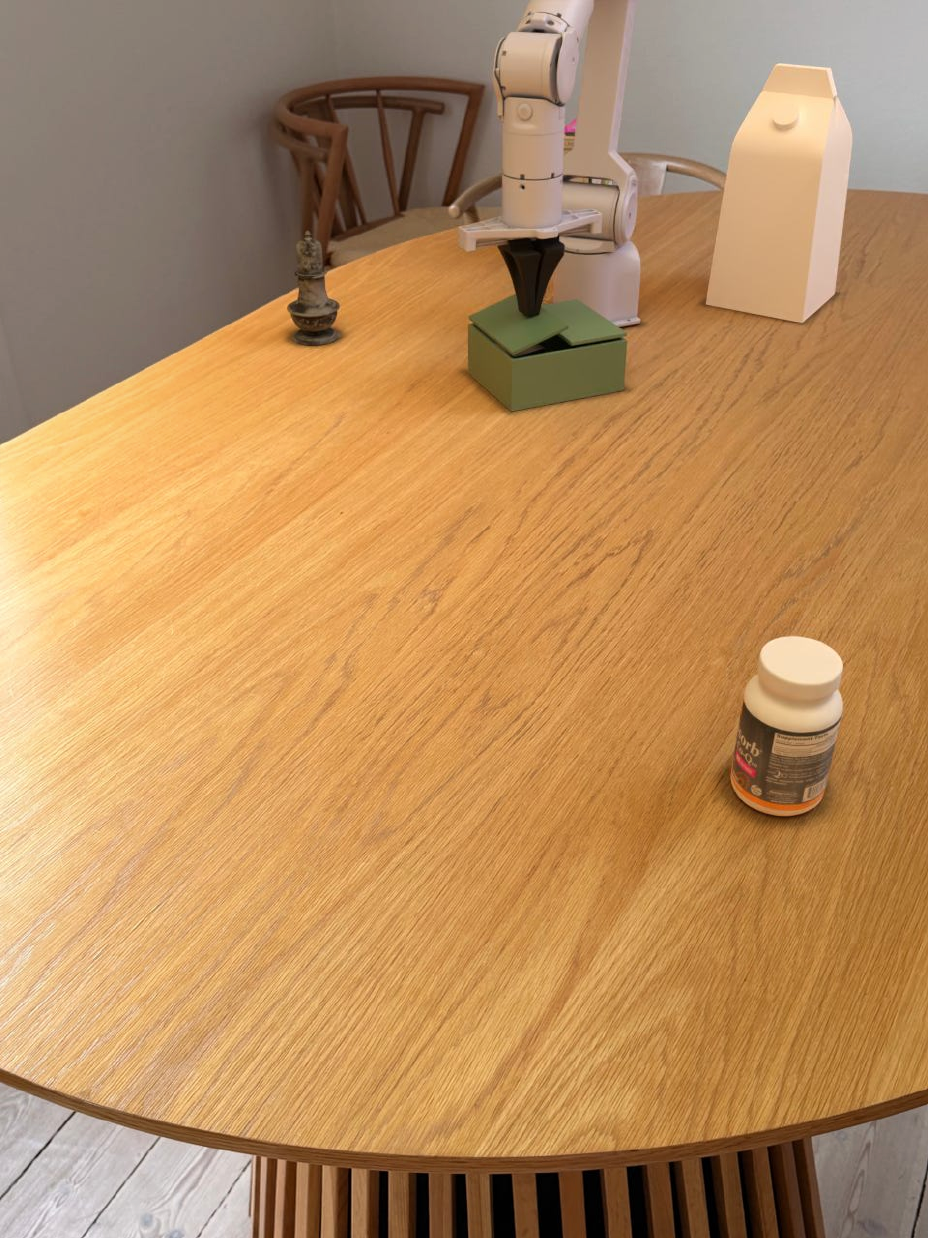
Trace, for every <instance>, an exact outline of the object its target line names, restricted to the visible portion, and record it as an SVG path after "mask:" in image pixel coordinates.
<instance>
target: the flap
mask: <svg viewBox="0 0 928 1238" xmlns="http://www.w3.org/2000/svg"><path fill="white" fill-rule="evenodd" d="M467 318H468V320H469V321H470V322H471V323H474V324H475V325H476V326H477V327H479V328H480V329H481V330H482V331H483V332H485V333H486V334H487V335H488V336H490V337H491V338H492V339H493V340H495V341H496V342H497V343H498V344H499V345H501V346H502V347H503V348H504V349H506V350H507V351H508V352H509V353H510V354H512V355H513V356H514V355H516V354H518V353H520V352H522V351H524V350H526V349H528V348H530V347H532V346H534V345H536V344H538V343H540V342H542V341H544V340H546V339H548V338H550V337H552V336H554V335H556V334H558V333H560V332H563V331H565V330H567V329H569V328H568V325H567V324H566V323H564V322H563V321H561V320H560V319H559V318H557V317H556V316H554V315H553V314H552V313H550V312H549V311H547V310H546V309H545V308H543V307H542V306H541V310H540V314H539V315H536V316H529V317H527V316H525V315H524V314H522V313H521V312H520V311H519V308H518V302H517V297H516V293H514V294H512V295H510V296H508V297H506V298H503V299H502V300H500V301H498V302H495V303H493V304H491V305H489V306H487V307H485V308H483V309H481V310H479V311H477V312H475V313H473V314H471V315H468V316H467Z"/></svg>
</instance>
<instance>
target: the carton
mask: <svg viewBox="0 0 928 1238" xmlns="http://www.w3.org/2000/svg"><path fill="white" fill-rule="evenodd" d="M542 307H543V308H545V309H546V310H547V311H549V312H550V313H552V314H553V315H554V316H556V317H557V318H559V319H560V320H561V321H563V322H564V323H566V324H567V325H568V328H569V329H567V330H565V331H563V332H560V333H558V334H556V335H554V336H552V337H550V338H548V339H546V340H544V341H542V342H540V343H538V345H540V346H543V347H545V353H543V354H538V355H532V356H526V357H521V358H515V359H514V358H513V357H511V356H510V355H509V354H508V353H506V352H505V351H504V350H503V349H502V348H500V347H499V346H498V345H497V344H495V343H497V342H496V341H495V340H493V339H492V338H491V337H490V336H488V335H487V334H486V333H485V332H483V331H482V330H481V329H480V328H479V327H477V326H476V325H475V324H474V323H472V322H471V323H468V324H467V373H468V374H469V376H471V377H472V378H473V379H474V380H475V381H476V382H478V384H480V385H481V386H482V387H483V388H484V389H485V390H486V391H487V392H489V393H490V394H491V395H492V396H493V397H494V398H495V399H496V400H498V401H499V402H500V403H501V404H502V405H503V406H504V407H505V408H507V409H508V410H509V411H510V412H518V411H522V410H523V411H524V410H528V409H533V408H539V407H545V406H550V405H554V404H559V403H565V402H569V401H570V402H571V401H573V400H574V401H575V400H576V401H577V400H580V399H586V398H592V397H596V396H602V395H606V394H612V393H617V392H622V391H624V390H625V379H626V367H627V365H626V364H627V351H628V339H626V338H625V337H627V336H628V332H627V331H626V330H624V329H622V327H618V326H616V325H615V324H613V323H612V322H610V321H609V320H607V319H606V318H604V317H603V316H601V315H600V314H598V313H597V312H595V311H594V310H592V309H591V308H589V307H588V306H586V305H585V304H583V303H582V302H580V301H579V300H578V299H575V300H569V301H563V302H557V303H553V302H551V303H545V304H544V303H543V304H542Z"/></svg>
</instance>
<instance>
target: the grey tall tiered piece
mask: <svg viewBox="0 0 928 1238" xmlns="http://www.w3.org/2000/svg"><path fill="white" fill-rule="evenodd" d="M311 235H312V233H311V232H310V231H309V230H306V231H305V233H304V236H305V237H304V238H302V239H300V240H299V241H298V242H297V243H296V245H295V255H296V267H297V268H296V270H295V271H294V276H295V277H296V278H297V286H298V287H297V289H298V295H297V299H295V300H293V301H292V302H290V303H288V305H287V307H286V310H287V312H288V313H289V315H290V318H291V320H292V322H293V324H294V325H295V326H296V327H297V328H298V330H296V331H295V332H294V333H293V334H292V337H291V339H292V340H293V342H295V343H296V344H299V345H301V346H309V347H310V346H313V347H315V346H323V345H328V344H331V343H332V344H333V343H334V342H336V341H337V340H338V339H339V338H340V333H339V332H338V331H337V330H336V329H333V328H332V326H333V324H335V322H336V320H337V317H338V310H339V309H340V306H341V305H340V303H339V302H338V301H337V300H335V299H333V298H330V297H329V296H328V293H327V290H326V278H325V277H326V275H327V274H328V271H327V269H325V268H324V260H323V249H322V244H321V243H320V241H319V240H317V239H316V238H313V237H311Z"/></svg>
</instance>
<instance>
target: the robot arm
mask: <svg viewBox="0 0 928 1238" xmlns="http://www.w3.org/2000/svg"><path fill="white" fill-rule="evenodd" d="M637 3H638V0H529V1H528V3H527V7H526V8H525V11H524V13H523V15H522V17H521V20H520V22H519V24H518V27H517V28H516V31H510V32H509V33H508V34H507V35H506V36H504V37H503V36H502V37H501V38H500V40H499V41H498V43H497V45H496V48H495V53H494V57H493V69H492V83H493V84H492V85H493V89H494V94H495V98H496V105H497V106H496V107H497V111H496V114H497V117H498V118H497V119H498V121H500V122H502V136H501V137H502V138H501V140H502V141H501V142H502V143H501V144H502V145H501V146H502V147H501V148H502V149H501V156H502V157H501V162H502V163H501V215H499V216H496V217H493V218H488V219H486V220H485V219H484V220H482V221H478V222H475V223H471V224H467V225H459V226H458V227H457V231H458V232H457V241H458V242H457V243H458V245H457V246H458V248H460V249H461V250H462V251H464V252H466V253H470V252H471V253H472V252H476V251H477V249H483V248H489V247H490V248H491V247H496V246H497V249H498V251H499V253H500V255H501V257H502V258H503V261H504V263H505V265H506V267H507V271H508V273H509V275H510V278H511V281H512V284H513V288H514V291H515V294H516V297H517V302H518V308H519V311H520V312H521V313H522V314H524V315H525V316H527V317H529V316H536V315H539V314H540V310H541V306H542V305H543V301H544V298H545V295H546V292H547V289H548V287H549V284H550V281H551V278H552V277H553V291H552V292H553V294H552V295H553V296H552V303H557V302H563V301H569V300H575V299H578V300H579V301H580V302H582V303H583V304H585V305H586V306H588V307H589V308H591V309H592V310H594V311H595V312H597V313H598V314H600V315H601V316H603V317H604V318H606V319H607V320H609V321H610V322H612V323H613V324H615V325H616V326H618V327H619V328H622V327H628V326H634V325H639V324H640V323H641V318H639V317H638V313H639V299H640V286H641V273H642V265H641V257H640V253H639V250H638V248H637V245H635V244H634V242H633V241H632V240H631V238H632V237H633V234H634V231H635V228H636V223H637V216H638V188H639V179H638V175H637V173H636V171H635V170H634V168H633V167H632V166H631V165H630V164H629V163H628V162H627V161H626V160H625V159H624V158H623V157H622V156H621V155H620V154H619V153H618V146H619V145H618V144H619V136H620V129H621V121H622V113H623V105H624V99H625V91H626V83H627V76H628V67H629V61H630V60H629V59H630V55H631V46H632V39H633V38H632V37H633V30H634V29H633V28H634V22H635V16H636V15H635V14H636V8H637ZM586 29H587V33H586V41H585V49H584V57H583V65H582V66H583V67H582V72H581V73H582V74H581V82H580V91H579V98H578V106H577V115H576V118H577V122H576V130H575V139H574V147H573V149H572V150H571V151H570V152H569V153H568V154H566V155H565V156H563V154H564V128H565V126H566V124H565V122H566V103H568V102H569V100H570V99H571V96H572V95H573V92H574V87H575V83H576V75H577V68H578V64H579V59H580V50H579V46H580V43H581V41H582V38H583V37H584V34H585V31H586ZM573 178H590V179H601V180H611V181H613V183H615V184H616V185H615V184H613V185H606V184H596V183H585V182H574V181H570V180H571V179H573Z"/></svg>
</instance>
